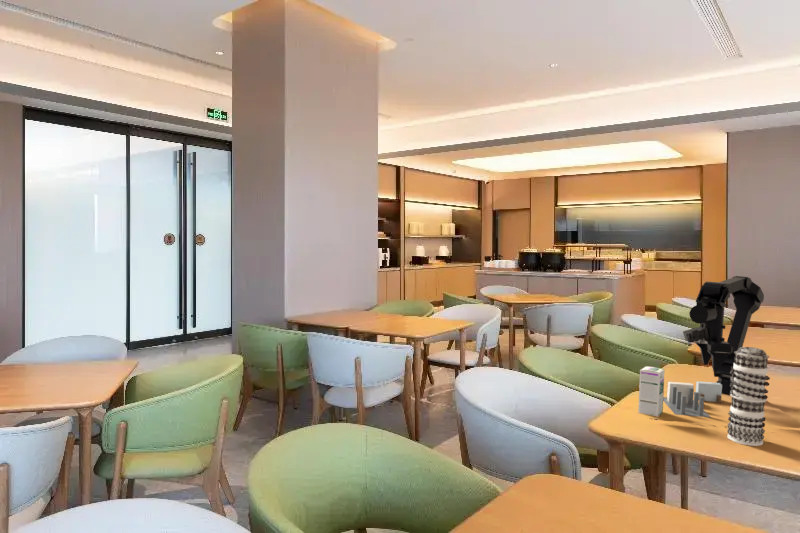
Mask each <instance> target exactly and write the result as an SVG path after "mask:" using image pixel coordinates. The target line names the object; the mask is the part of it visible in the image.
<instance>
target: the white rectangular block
mask: <svg viewBox="0 0 800 533" xmlns="http://www.w3.org/2000/svg"><path fill="white" fill-rule="evenodd" d="M672 386H676V387H677V391H681V395H685V396H686V403H688V398H689V387H690V388H693V389H694V390H695V388H694V387H695V386H694V384H693V383H691V382H678V381H676V382H675V381H668V382H667V391H666V393H667V395H666V397H667V400H668V401H669V402H671V398H672ZM677 391H676V394H677Z"/></svg>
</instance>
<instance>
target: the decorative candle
mask: <svg viewBox="0 0 800 533" xmlns="http://www.w3.org/2000/svg"><path fill="white" fill-rule="evenodd" d="M734 353H735V362H734V365H733V367H731V369H732V370H731V371H730V374H731V375H732V376H733V377H731V378H730V381H731V382H732V383H730V387H731V388H732V390H731V391H730V395H729V396H730V397H731V405H730V409H729V411H728V413H727V414H728V415H729V417H728V418H727V420H728V421H729V422H728V423H727V426H726V427H727V432H726V433H728V434H727V436H726V437H727V439H728V440H730V441H732V442H734V443H737V444H740V445H744V446H751V447H759V446H762V445H764V439H765V436H764V435H765V431H766V430H765V429H764V427H765V426H766V423H765V422H766V419H767V418H766V417H765V409H764V408H765V402H767V400H768V398H769V397H768V395H766V394H768V393H769V390H768V389H766V387H769V386H770V383H769V382H768V381H770V379H771V377H769V376H768V375H767V374H768V372H769V371H768V370H769V369H768V361H769V360H768V359H769V358H770V356H769V355H768V354H767V352H766V351H765V350H763V349H761V348H757V347H753V346H751V347H750V346H743V347H741V348H739V349H738V351H736V352H734ZM733 372H734V374H733ZM733 379H734V380H733Z"/></svg>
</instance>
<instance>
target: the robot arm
mask: <svg viewBox="0 0 800 533" xmlns="http://www.w3.org/2000/svg"><path fill="white" fill-rule="evenodd" d="M731 296H732V297H733V304H734V306H735V308H736V309H735V312H734V317H733V320H732V324H731V326H730V329H729V333H728V337H727V341H725V338H724V337H723V335H724V334H723V333H724V332H723V331H724V330H725V329H726V325H724V321H725V319H724V317H725V307H727V301H728V300H729V298H730V297H731ZM764 298H765V295H764V292H763V290H762V288H761V286H759V285H758V284H757V283H755V282H753V281H752V278H750V277H748V276H740V275H735V276H732V277H730V278H727V279H725V280H722V281H705V282H704V283H703V284H702V285H701V287H700V290H699V291H698V294H697V297H696V299H695V303H696V305H694V306H692V307H691V309H690V311H689V318H690V319H691V321H692V322H693V323H696V324H699V326H698V327H693V328H689V329H686V330H683V331H682V334H683V336H684V339H685V342H687V343H689V344H691V343H694V344H695V345H697V347H699V350H700V354H701V358H702V363H703V365H704V366H708V365H709V362H710V360H711V364H712V372H713V376H714V377H715V378H718V379H717V380H716V382H715V383H720V384H722V395H725V396H726V395H727V396H730V391H731V390H732V388H731V387H730V383H732V382H731V381H730V378H731V377H733V376H732V375H731V374H730V371H731V370H732V369H731V367H733V365H734V362H735V353H734V352H736V351H738V349H739V348H741V347H744V343H745V339H746V335H747V332H748V329H749V325H750V321H751V318H752V315H754V314H755V313H756V312H757V311H758V310H760V307H761V304H762V303H764ZM733 374H734V372H733ZM733 380H734V379H733Z"/></svg>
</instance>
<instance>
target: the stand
mask: <svg viewBox="0 0 800 533" xmlns="http://www.w3.org/2000/svg"><path fill="white" fill-rule="evenodd" d="M700 397H704V394H700ZM715 403H717V404H721V403H722V395H721V396H720V395H717V401H716V402H715Z"/></svg>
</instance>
